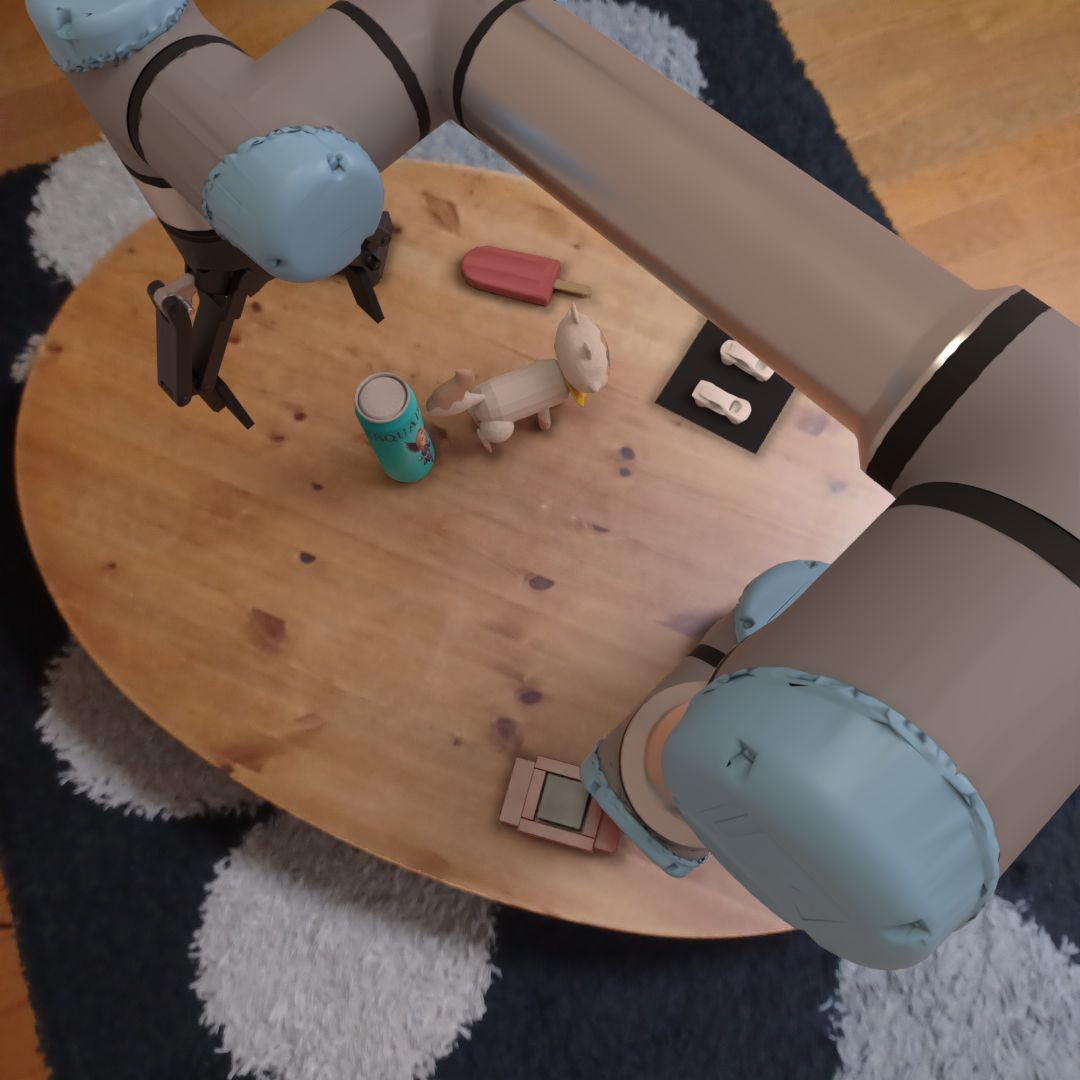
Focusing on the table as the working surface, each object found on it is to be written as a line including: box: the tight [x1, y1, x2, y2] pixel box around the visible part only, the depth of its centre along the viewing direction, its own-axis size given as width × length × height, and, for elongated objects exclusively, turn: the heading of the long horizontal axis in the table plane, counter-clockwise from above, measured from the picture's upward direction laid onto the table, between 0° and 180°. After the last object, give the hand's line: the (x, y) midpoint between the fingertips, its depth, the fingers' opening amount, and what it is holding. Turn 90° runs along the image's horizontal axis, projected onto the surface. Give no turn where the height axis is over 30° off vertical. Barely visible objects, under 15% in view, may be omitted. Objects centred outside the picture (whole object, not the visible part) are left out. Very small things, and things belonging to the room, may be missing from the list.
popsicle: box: [461, 245, 592, 307], centre depth 113 cm, size 5×2×15 cm
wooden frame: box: [497, 754, 622, 856], centre depth 92 cm, size 11×7×4 cm, turn 75°
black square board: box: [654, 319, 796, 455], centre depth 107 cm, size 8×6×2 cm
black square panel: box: [536, 773, 590, 831], centre depth 90 cm, size 4×4×2 cm
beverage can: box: [353, 371, 436, 483], centre depth 100 cm, size 6×6×15 cm
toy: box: [425, 301, 611, 454], centre depth 101 cm, size 9×19×15 cm, turn 112°
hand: (307, 363), depth 82 cm, fingers open, 13 cm apart
